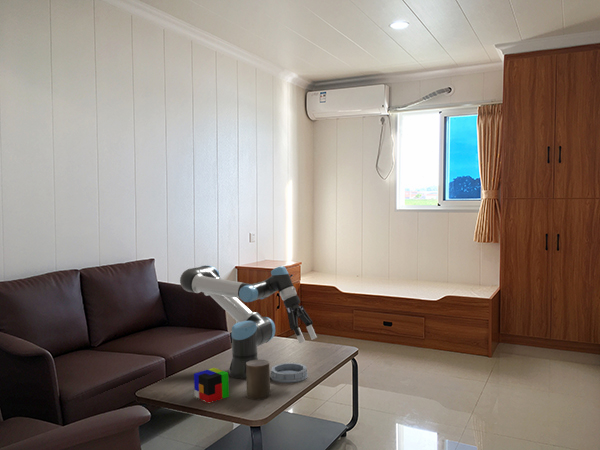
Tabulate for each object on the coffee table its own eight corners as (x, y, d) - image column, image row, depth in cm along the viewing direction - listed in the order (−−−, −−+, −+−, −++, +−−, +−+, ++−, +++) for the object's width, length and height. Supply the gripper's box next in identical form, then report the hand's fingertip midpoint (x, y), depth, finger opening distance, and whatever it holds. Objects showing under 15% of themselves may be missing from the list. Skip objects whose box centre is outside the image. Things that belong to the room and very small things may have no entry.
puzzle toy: (194, 397, 210) (193, 373, 210) (214, 390, 217) (214, 367, 217) (208, 403, 203) (207, 379, 203) (229, 396, 210) (228, 372, 210)
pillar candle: (267, 400, 205) (266, 363, 204) (243, 399, 206) (243, 362, 206) (272, 391, 215) (271, 356, 214) (250, 390, 216) (249, 355, 216)
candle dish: (263, 379, 229) (263, 371, 229) (281, 368, 244) (281, 360, 244) (297, 385, 221) (297, 376, 221) (314, 372, 236) (313, 365, 236)
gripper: (284, 295, 227) (304, 340, 221) (307, 293, 249) (325, 334, 244) (271, 302, 229) (290, 347, 223) (295, 300, 252) (312, 340, 246)
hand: (308, 340), depth 233 cm, fingers open, 13 cm apart
